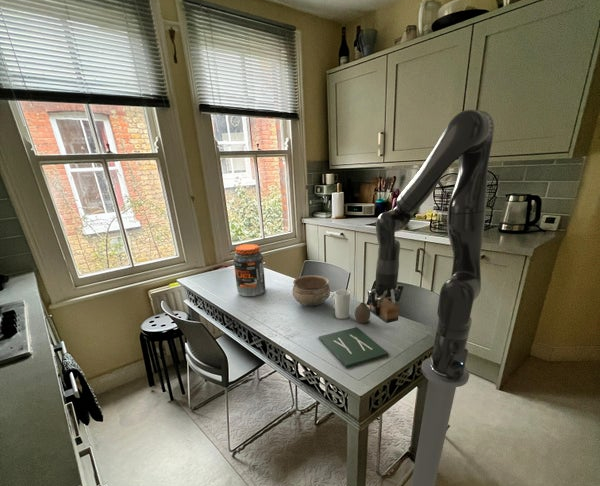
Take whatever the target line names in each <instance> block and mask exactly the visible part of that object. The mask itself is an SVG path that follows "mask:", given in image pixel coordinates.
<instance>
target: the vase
mask: <svg viewBox="0 0 600 486" xmlns="http://www.w3.org/2000/svg"><path fill="white" fill-rule="evenodd" d="M369 310H370V307H369V306H368V305H367V303H366V302H360V303H359V304H358V306H357V307H356V308H355V310H354V319H355V320H356V322H358V323H359V324H366V323H368V321H369V320H370V318H371V312H370V311H369Z"/></svg>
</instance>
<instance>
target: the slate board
mask: <svg viewBox="0 0 600 486" xmlns="http://www.w3.org/2000/svg"><path fill="white" fill-rule="evenodd" d="M318 339H319V340H320V342H321V343H322V344H323V345H324V346H325V347H326V348H327V349H328V350H329V351H330V353H332V355H333V356H335V357H336V359H337V360H338V361H339V362H340V363H341V364H342V365H343V366H344V367H345V368H347V369H348V368H351V367H354V366H357V365H360V364H364V363H367V362H370V361H373V360H377V359H380V358H383V357H388V356H389V352H388V351H387V350H386V349H384V348H383V347H382V346H381V345H379V344H378V343H377V342H376V341H374V340H373V339H372V338H371V337H369V336H368V335H367V334H366V333H364V332H363V331H362V330H361V329H360V328H358V327H357V326H355V327H351V328H347V329H343V330H339V331H336V332H332V333H327V334H324V335H320V336H318Z"/></svg>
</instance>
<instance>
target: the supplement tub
mask: <svg viewBox="0 0 600 486" xmlns="http://www.w3.org/2000/svg"><path fill="white" fill-rule="evenodd" d="M260 251H261V250H260V246H259V245H258V244H256V243H255V244H254V243H246V244H240V245H236V247H235V254H234V256H233V266H234V276H235V283H236V292H237V293H238V295H240V296H243V297H255V296H259V295H262V294H263V293H264V292H266V277H265V267H264V266H265V265H264V264H265V263H264V256H263V254H262V252H260Z"/></svg>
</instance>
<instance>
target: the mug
mask: <svg viewBox="0 0 600 486" xmlns="http://www.w3.org/2000/svg"><path fill="white" fill-rule="evenodd" d="M330 298H331V299H330V300H331V304H332V307H333V308H334V315H335V318H336V319H339V320H344V319H348V318H349V317H350V303H351V301H350V300H351V291H350V290H348V289H337V290H334V291H332V294H331V297H330Z"/></svg>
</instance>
